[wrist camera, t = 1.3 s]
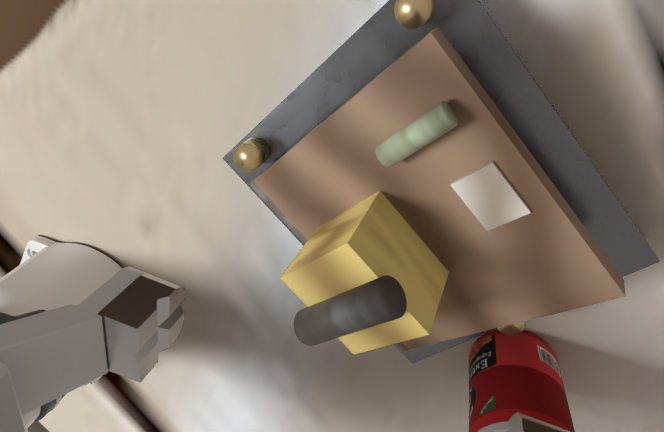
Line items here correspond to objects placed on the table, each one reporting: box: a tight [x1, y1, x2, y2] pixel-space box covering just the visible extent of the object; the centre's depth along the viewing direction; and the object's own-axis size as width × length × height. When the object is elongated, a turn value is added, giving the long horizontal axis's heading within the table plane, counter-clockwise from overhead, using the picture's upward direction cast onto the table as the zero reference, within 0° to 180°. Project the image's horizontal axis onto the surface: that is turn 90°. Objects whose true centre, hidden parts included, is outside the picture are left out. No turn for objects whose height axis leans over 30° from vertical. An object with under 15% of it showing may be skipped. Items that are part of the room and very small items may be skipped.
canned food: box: [469, 330, 575, 432], centre depth 38 cm, size 8×8×11 cm
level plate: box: [249, 26, 625, 355], centre depth 29 cm, size 19×20×10 cm
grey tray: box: [223, 0, 659, 363], centre depth 35 cm, size 22×26×5 cm
